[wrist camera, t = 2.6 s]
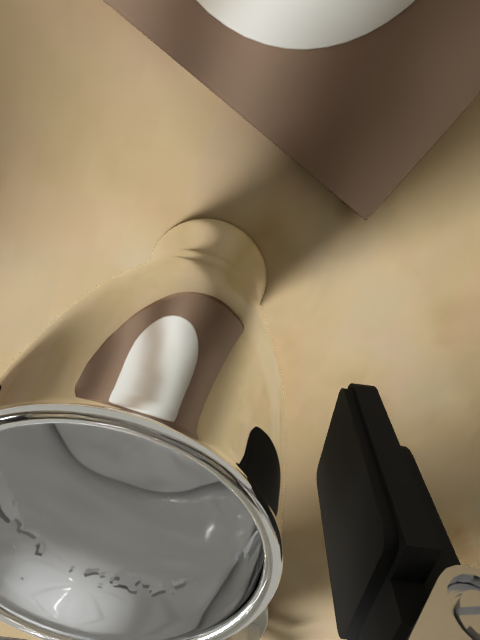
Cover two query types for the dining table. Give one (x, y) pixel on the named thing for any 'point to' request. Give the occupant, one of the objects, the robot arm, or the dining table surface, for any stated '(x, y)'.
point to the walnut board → (330, 76)
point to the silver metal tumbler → (147, 452)
